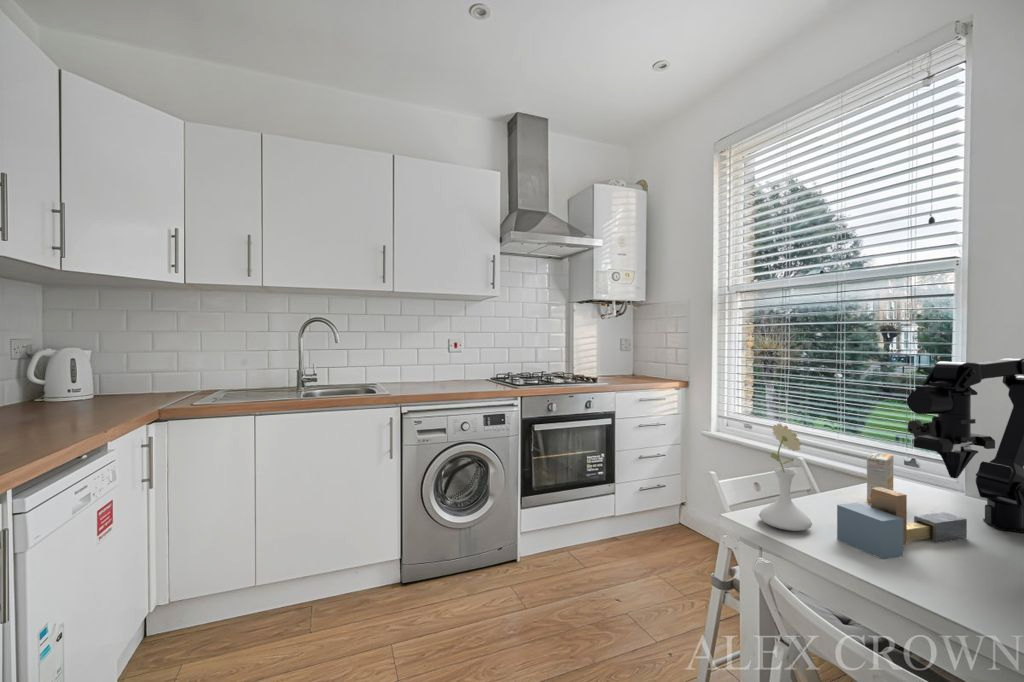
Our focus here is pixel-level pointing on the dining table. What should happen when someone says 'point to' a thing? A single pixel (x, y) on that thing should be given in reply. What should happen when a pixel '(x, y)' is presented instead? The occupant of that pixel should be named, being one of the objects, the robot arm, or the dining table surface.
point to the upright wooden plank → (899, 513)
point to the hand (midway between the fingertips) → (953, 477)
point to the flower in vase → (785, 489)
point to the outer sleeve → (944, 526)
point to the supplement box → (879, 472)
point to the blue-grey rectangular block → (870, 530)
